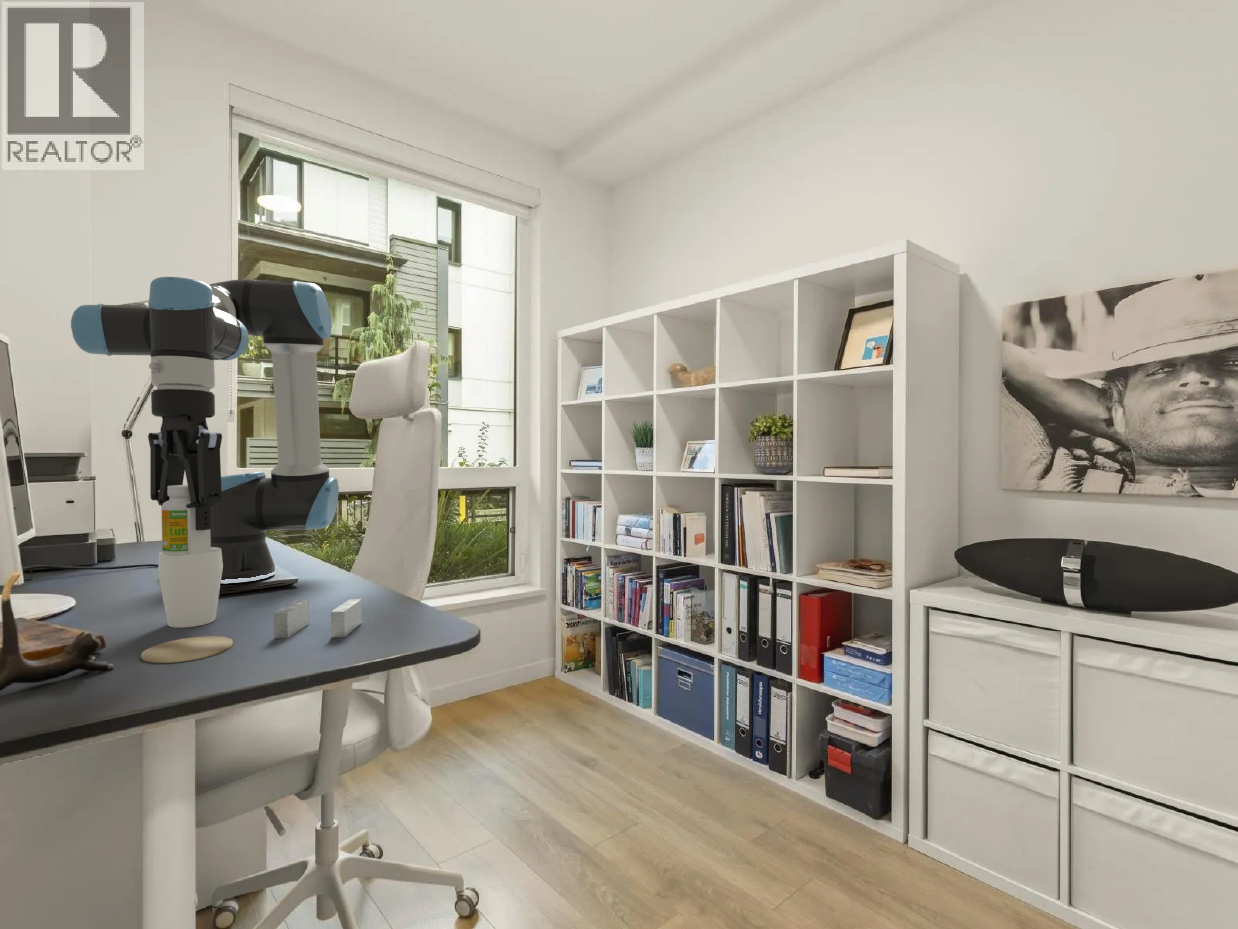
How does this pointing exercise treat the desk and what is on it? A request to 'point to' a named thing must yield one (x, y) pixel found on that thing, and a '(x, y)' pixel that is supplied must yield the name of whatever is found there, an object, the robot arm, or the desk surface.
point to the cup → (190, 587)
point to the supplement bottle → (175, 521)
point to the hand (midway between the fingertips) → (186, 551)
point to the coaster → (186, 649)
